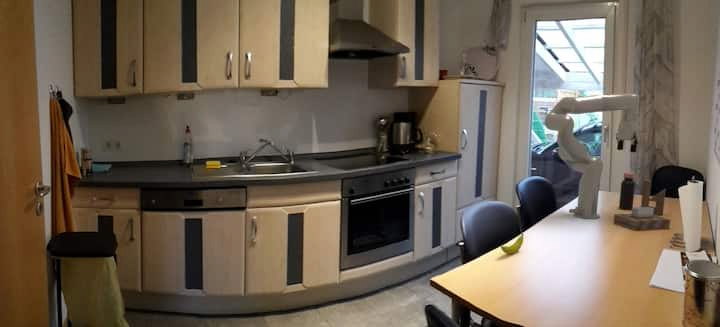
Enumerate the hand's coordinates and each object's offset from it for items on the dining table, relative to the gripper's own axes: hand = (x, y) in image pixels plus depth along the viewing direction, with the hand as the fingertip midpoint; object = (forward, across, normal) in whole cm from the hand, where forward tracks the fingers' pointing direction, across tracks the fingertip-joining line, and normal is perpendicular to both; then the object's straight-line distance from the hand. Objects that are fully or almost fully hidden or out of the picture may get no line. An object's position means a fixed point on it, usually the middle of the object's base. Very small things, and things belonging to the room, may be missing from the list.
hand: (626, 150), depth 279 cm
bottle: (+34, -12, +13) cm, 39 cm away
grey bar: (+33, +23, -7) cm, 41 cm away
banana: (+34, +55, -94) cm, 114 cm away
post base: (+34, +23, -7) cm, 42 cm away
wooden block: (+34, 0, +19) cm, 39 cm away
